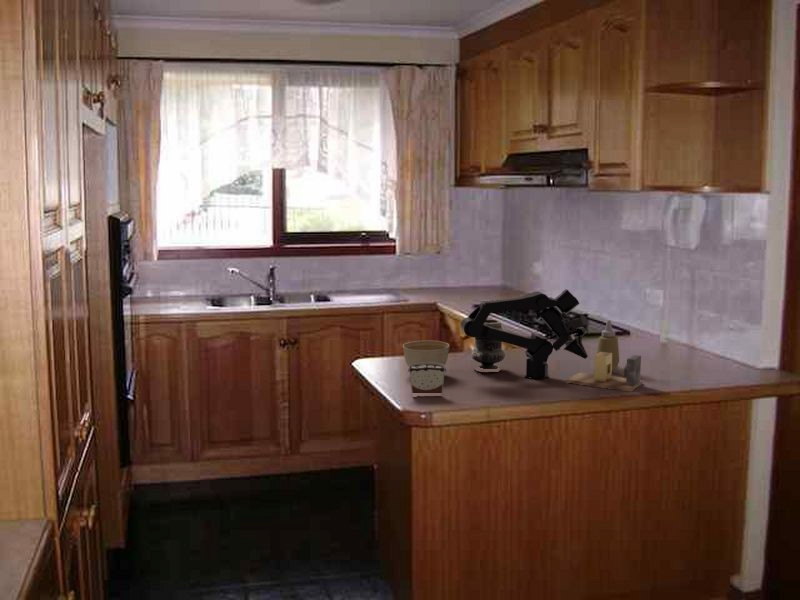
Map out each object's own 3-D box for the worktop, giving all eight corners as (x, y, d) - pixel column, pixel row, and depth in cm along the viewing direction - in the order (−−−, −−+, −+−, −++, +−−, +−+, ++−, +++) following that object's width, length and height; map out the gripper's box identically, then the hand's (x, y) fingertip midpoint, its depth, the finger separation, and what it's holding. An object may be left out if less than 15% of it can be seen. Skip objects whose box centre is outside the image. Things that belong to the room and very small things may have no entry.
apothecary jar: (503, 374, 301) (503, 324, 299) (469, 373, 304) (469, 323, 301) (506, 367, 313) (506, 318, 310) (473, 365, 316) (473, 317, 313)
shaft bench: (566, 383, 289) (566, 353, 287) (578, 375, 299) (579, 347, 297) (631, 391, 277) (632, 361, 276) (642, 383, 287) (643, 354, 286)
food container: (445, 391, 279) (445, 361, 278) (446, 396, 273) (446, 365, 272) (406, 392, 279) (406, 362, 277) (407, 397, 273) (407, 366, 271)
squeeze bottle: (602, 374, 301) (604, 323, 298) (591, 369, 309) (593, 319, 306) (623, 372, 303) (625, 322, 300) (611, 367, 311) (613, 318, 308)
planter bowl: (397, 372, 306) (396, 342, 305) (439, 368, 311) (439, 339, 310) (411, 382, 291) (411, 351, 290) (456, 379, 296) (456, 347, 294)
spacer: (593, 380, 287) (594, 355, 285) (599, 376, 292) (600, 351, 290) (605, 381, 285) (606, 356, 283) (611, 378, 290) (612, 352, 288)
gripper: (562, 311, 283) (594, 347, 279) (582, 303, 298) (612, 338, 294) (539, 332, 288) (570, 368, 284) (560, 324, 304) (589, 358, 300)
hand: (586, 357), depth 290 cm, fingers closed
